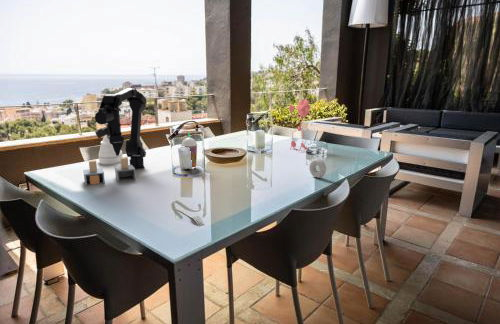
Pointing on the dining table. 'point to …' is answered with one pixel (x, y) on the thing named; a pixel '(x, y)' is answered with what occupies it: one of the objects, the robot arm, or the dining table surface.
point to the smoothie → (191, 148)
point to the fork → (190, 216)
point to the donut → (321, 168)
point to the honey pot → (108, 153)
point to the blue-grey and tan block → (93, 171)
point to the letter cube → (94, 179)
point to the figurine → (302, 110)
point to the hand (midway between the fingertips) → (116, 153)
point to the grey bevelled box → (124, 169)
